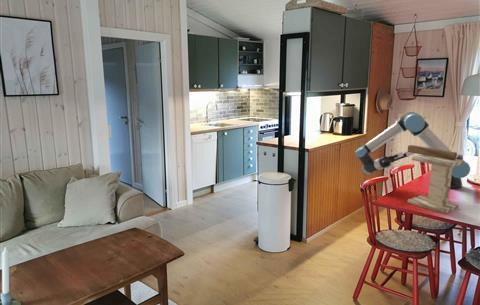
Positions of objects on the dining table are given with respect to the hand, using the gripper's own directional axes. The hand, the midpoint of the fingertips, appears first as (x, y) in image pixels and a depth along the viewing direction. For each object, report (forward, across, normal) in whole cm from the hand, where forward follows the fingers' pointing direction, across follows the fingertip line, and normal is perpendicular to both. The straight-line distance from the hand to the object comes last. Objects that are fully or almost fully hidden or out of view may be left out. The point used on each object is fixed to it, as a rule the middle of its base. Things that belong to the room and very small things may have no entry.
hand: (408, 152), depth 232 cm
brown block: (+12, 0, -6) cm, 14 cm away
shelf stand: (+4, +4, -35) cm, 35 cm away
